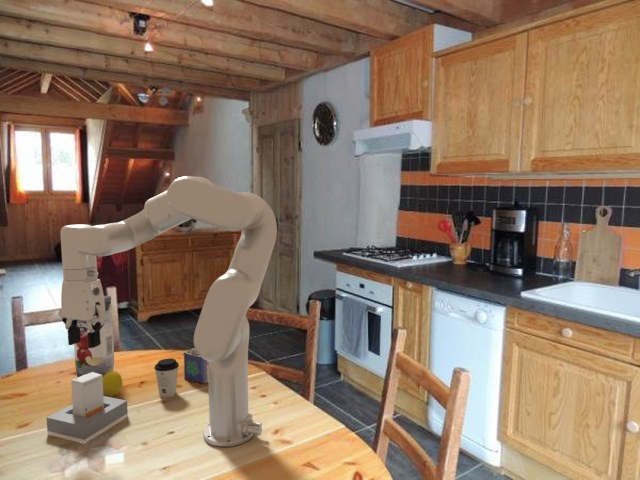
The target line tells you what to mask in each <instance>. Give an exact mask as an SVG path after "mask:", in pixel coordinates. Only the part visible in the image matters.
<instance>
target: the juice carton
mask: <svg viewBox="0 0 640 480" xmlns="http://www.w3.org/2000/svg"><path fill="white" fill-rule="evenodd" d="M104 301H105V313H106V315H107V316H108V320H107V321H106V322H105V323H104V325H103V326H102V329H101V330H100V345H98V346H96V347H93V348H89V347H88V333H89V332H90V331H89V328H88V325H87V322H86V321H80V320H79V322H78V326H79V327H80V337H81V341H80V342H78V343H76V344H73V348H74V349H73V351H74V364H75V365H74V366H75V371H76V372H75V373H76V376H77V377H76V378H78V377H80V376H83V375H86V374H89V373H91V372H94V373H98V374H101V375H103V377H104V375H105V374H106V373H108V372H110V371H111V370H113V371H114V368H115V351H114V349H115V348H114V345H115V344H114V331H113V330H114V329H113V311H112V309H113V308H112V296H111V295H104ZM93 319H94V318H93ZM73 321H74V320H73ZM92 323H93V326H94V325H95V322H94V321H93V322H92ZM78 326H77V327H78Z"/></svg>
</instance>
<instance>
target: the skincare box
mask: <svg viewBox="0 0 640 480" xmlns="http://www.w3.org/2000/svg"><path fill="white" fill-rule="evenodd" d="M71 396H72V398H71V400H72V401H71V402H72V404H73V415H76V416H81V417H85V418H88V417H90V416H92V415H94V414H95V413H97V412H99V411H101V410H103V409H104V400H103V396H104V392H103V375H101V374H98V373H94V372H91V373H89V374H86V375H83V376H80V377H76V378H74V379H71Z"/></svg>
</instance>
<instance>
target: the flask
mask: <svg viewBox="0 0 640 480" xmlns="http://www.w3.org/2000/svg"><path fill="white" fill-rule="evenodd" d="M183 364H184V366H183V369H184V370H183V372H184V373H183V374H184V375H183V376H184V378H183V379H184V380H185V381H188V382H190V383H195V384H199V385H206V384H207V383H208V361H207V360H205V359H203V358H202V357H200V356H199V354H198V353H197V351H196V349H195V347H194V348H191V349H189V350H185V351H184V352H183Z"/></svg>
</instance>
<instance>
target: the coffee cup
mask: <svg viewBox="0 0 640 480" xmlns="http://www.w3.org/2000/svg"><path fill="white" fill-rule="evenodd" d="M179 366H180V363H178V361H177V360H176V359H175V358H171V357H170V358H163V359H160V360H159V361H158V362H157V363H156V364H155V365H154V367H153V368H154V371H155V376H156V382H157V387H158V394H159V397H160V398H171V397H173V396H175V395H176V394H177V384H178V373H179Z"/></svg>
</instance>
